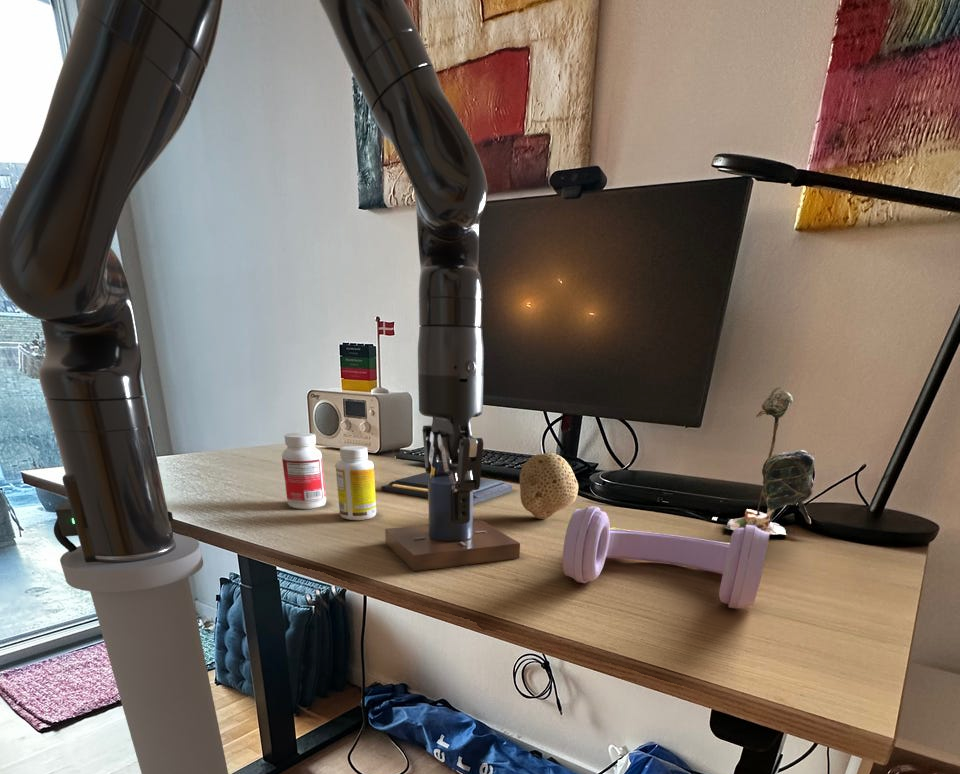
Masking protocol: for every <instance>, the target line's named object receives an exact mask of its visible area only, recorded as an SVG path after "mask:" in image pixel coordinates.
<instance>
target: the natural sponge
mask: <svg viewBox="0 0 960 774" xmlns="http://www.w3.org/2000/svg"><path fill="white" fill-rule="evenodd" d="M519 490H520V491H519V493H520V501H521V504H522V506H523V508H524V509H525V510H526V511H527V512H529V513H530V514H531V515H532V516H534V517H535V518H536V519H539V520H545V519H549V518H551V517H552V516H554V515H555V514H556V513H557V512H559V511H561V510H564V509H565V508H567V507H569V506H570V505H572V504H573V503H574V502H575V501H576V499H577V497H578V492H579V482H578V480H577V478H576V476H575V473H574V471H573V469H572V467H571V465H570V464H569V462H568V461H567V460H566V459H565V458H563V457H562V456H561V455H559V454H558V453H555V452H545V453H537V454H535V455H532V457H530V458H529V459H527V460H526V462H525V463H524V464H523V465H522V467H521V469H520V472H519Z"/></svg>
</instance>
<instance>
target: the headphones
mask: <svg viewBox="0 0 960 774" xmlns="http://www.w3.org/2000/svg"><path fill="white" fill-rule="evenodd" d="M769 540H770V535H769V533H767V532H764V531H762V530H760V529H758V528H757V527H756V526H752V525H746V528H738V529H736V530H733V531H732V533H731V536H730V540H729V542H723V541H716V540H710V539H704V538H696V537H688V536H683V535H682V536H681V535H675V534H668V533H659V532H658V533H657V532H649V531H641V530H640V531H639V530H632V529H631V530H630V529H626V528H619V527H611V525H610V518H609V516H608V514H607V513H606V511H603V510H601V508H600V507H599V506H588V507H586V508H583V509H582V508H581V509H578V508H577V509H576V510H574V511H573V513H572V514H571V517H570V519H569V521H568V524H567V528H566V532H565V536H564V541H563V542H564V543H563V547H562V570H563V573H564V575H565V576H566V577H570V578H571V579H573V580H574V581H575V582H577V583H581V584H587V583H588V582H593V581H595V580H597V578H598V577H599V576H600V574H601V572H602V570H603V568H604V565H605V561H606V559H621V560H623V559H624V560H637V561H647V562H654V563H663V564H670V565H676V566H683V567H687V568H688V567H689V568H694V569H699V570H703V571H708V572H713V573H716V574H721V575H722V576H721V582H720V585H719V591H718V592H719V593H718V597H719V600H720V602H722V603H724V604H727V605H728V608H731V609H740V608H743V607H753V606H755V605H754V604H755V601H756V598H757V594H758V591H759V587H760V583H761V578H762V574H763V571H764V570H763V569H764V565H765V561H766V557H767V556H766V555H767V551H768V545H769Z"/></svg>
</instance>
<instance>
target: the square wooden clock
mask: <svg viewBox="0 0 960 774" xmlns="http://www.w3.org/2000/svg"><path fill="white" fill-rule="evenodd" d="M384 533H385V535H384V536H385V544H386V545H387V546H388V547H389V548H390V549H391V550H392V551H393V552H394V553H395V554H396V555H397V556H398V557H399V558H400V559H401V560H402V561H403V562H404V563H405V564H406V565H407V566H408V567H409V568H410V569H412V570H413V572H418V571H419V572H421V571H429V570H436V569H437V570H438V569H444V568H451V567H452V568H453V567H460V566H468V565H476V564H484V563H491V562H500V561H508V560H515V559H520V557H521V555H520V554H521V542H519V541H517V540H515V539H514V538H512V537H510V536H509V535H507V534H506V533H505V532H502V531H500V530H499V529H497V528H495V527H494V526H492V525H490V524H488V523H487V522H486V521H484V520H482V519H477V520H475V519H474V520H473V531H472V537H471V538H470V539H467V540H463V541H454V542H449V541H439V540H435V539H432V538H431V537H430V536H429V524H423V525H412V526H404V527H403V526H401V527H391V528H385V529H384Z"/></svg>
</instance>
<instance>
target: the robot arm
mask: <svg viewBox="0 0 960 774" xmlns="http://www.w3.org/2000/svg"><path fill="white" fill-rule="evenodd" d="M223 2H224V0H82V2H81V5H80V8H79V11H78V14H77V16H76V20H75V23H74V26H73V30H72V35H71V39H70V42H69V45H68V48H67V51H66V54H65V57H64V60H63V63H62V66H61V69H60V72H59V75H58V78H57V80H56V84H55V86H54V90H53V93H52V96H51V100H50V103H49V106H48V110H47V113H46V117H45V120H44V122H43V123H44V124H43V125H42V129H41V132H40V135H39V136H38V140H37V142H36V145H35V147H34V149H33V151H32V154H31V156H30V157H29V160H28V162H27V164H26V166H25V168H24V170H23V172H22V174H21V176H20V178H19V180H18V183H17V185H16V186H15V188H14V190H13V192H12V194H11V196H10V197H9V200H8V202H7V204H6V205H5V208H4V210H3V212H2V214H1V216H0V287H1V289H2V291H3V292H4V293H5V295H6V296H7V297H8V299H9V300H10V301H11V302H12V303H13V304H14V305H15V306H16V307H17V308H18V309H19V310H21V311H22V312H24V313H25V314H27V315H28V316H30V317H33V318H35V319H37V320H40V323H41V329H42V332H43V338H44V343H45V354H44V358H43V361H42V364H41V365H40V367H39V369H38V379H39V383H40V387H41V391H42V394H43V397H44V400H45V405H46V408H47V411H48V416H49V419H50V422H51V426H52V429H53V430H52V431H53V434H54V437H55V441H56V444H57V447H58V451H59V456H60V459H61V462H62V466H63V470H64V475H63V476H62V484H63V487H64V490H65V491H64V492H65V494H66V497H67V499H63V500H62V501H61V502H60V503H59V505H58V506H57V507H56V509H55V511H54V512H55V514H56V520H55V522H54V526H53V534H54V536H55V539H56V541H57V542H58V543H60V545H62V547H64V549H66V550H67V552H68V551H69V552H73V551H75V550H76V549H77V547H78V546H77V545H75V544H74V543H73V542H72V541H71V540H70V539H69V538H68V537H78V541H79V544H80V545H79V546H81V548H82V552H83V555H84V559H85V562H105V563H126V562H135V561H142V560H147V559H152V558H156V557H159V556H162V555H165V554H167V553H169V552H171V551H173V550H174V549H175V548H176V544H175V539H174V538H173V534H174V533H173V527H172V524H171V523H173V524H174V516H173V512H172V511H169V510H168V505H167V500H166V496H165V491H164V486H163V485H164V484H163V481H162V476H161V472H160V467H159V462H158V457H157V451H156V448H155V443H154V437H153V433H152V428H151V423H150V418H149V414H148V408H147V404H146V399H145V395H144V389H143V383H142V374H143V373H142V372H143V356H142V349H141V344H140V338H139V331H138V327H137V321H136V315H135V310H134V304H133V299H132V294H131V293H132V292H131V289H130V286H129V282H128V278H127V275H126V271H125V270H124V267H123V264H122V262H121V260H120V259H119V257H118V255H117V253H116V252H115V251H114V249H113V248H112V245H113V241H114V239H115V234H116V232H117V229H118V225H119V223H120V219H121V216H122V213H123V211H124V210H125V209H124V208H125V206H126V204H127V202H128V200H129V198H130V196H131V194H132V192H133V191H134V190H135V188H136V186H137V184H138V183H139V182H140V181H141V179H142V178H143V177H144V175H145V174H146V173H147V172H148V170H149V169H150V168H151V167H152V166H153V165H154V164H155V162H156V161H157V160H158V159H159V158H160V157H161V155H163V153H164V152H165V151H166V149H167V148H168V147H169V145H170V144H171V143H172V142H173V140H174V138H175V137H176V136H177V135H178V133H179V132H180V130H181V128H182V126H183V124H184V123H185V121H186V119H187V117H188V115H189V113H190V110H191V108H192V107H193V104H194V101H195V99H196V97H197V94H198V92H199V89H200V86H201V84H202V82H203V79H204V76H205V75H206V70H207V69H208V66H209V63H210V59H211V56H212V54H213V49H214V47H215V43H216V38H217V35H218V31H219V24H220V19H221V14H222V7H223ZM318 2H319V4H320V7H321V9H322V11H323V13H324V15H325V18H326V19H327V22H328V24H329V26H330V28H331V30H332V32H333V35H334V37H335V39H336V42H337V44H338V45H339V48H340V50H341V52H342V55H343V56H344V58H345V61H346V62H347V65H348V67H349V70H350V72H351V73H352V75H353V77H354V79H355V81H356V84H357V86H358V88H359V90H360V92H361V94H362V96H363V99H364V100H365V103H366V105H367V107H368V108H369V111H370V113H371V115H372V116H373V118H374V121H375V122H376V125H377V126H378V128H379V129H380V132H381V133H382V134H383V136H384V137H385V139H386V140H388V142H390V144H392V146H393V147H394V150H395V152H396V154H397V157H398V158H399V161H400V162H401V165H402V167H403V169H404V171H405V173H406V175H407V177H408V180H409V182H410V184H411V187H412V189H413V191H414V194H415V212H416V213H415V214H416V231H417V244H418V258H419V269H420V270H419V282H418V325H419V328H418V330H419V331H418V340H417V383H418V385H417V386H418V387H417V388H418V389H417V390H418V411H419V413H420V415H421V416H424V417H428V418H432V422H431V425H430V424H429V425H422V441H423V453H424V456H423V457H424V467H425V468H424V470H425V472H426V473H427V474H430V478H433V477H439V476H449V478H450V485H451V491H452V493H451V521H452V522H453V523H455V524H463V523H468V522H469V520H470V492H473V490H478V489H479V487H480V478H482V477H481V476H482V466H483V465H482V464H483V454H484V439H483V438H482V437H473V433H472V426H471V419H473V418H478V417H480V416H481V415H482V414H483V412H484V411H483V410H484V363H485V348H484V338H483V300H484V299H483V298H484V295H483V294H484V293H483V291H484V289H483V280H482V275H481V272H480V269H479V259H480V257H479V253H480V226H481V217H482V215H483V214H484V211H485V210H486V206H487V202H488V195H489V189H488V188H489V187H488V181H487V177H486V172H485V169H484V167H483V164H482V161H481V159H480V156H479V154H478V152H477V149H476V147H475V145H474V143H473V141H472V139H471V137H470V135H469V134H468V132H467V130H466V129H465V126H464V125H463V122H462V121H461V120H460V117H459V116H458V114H457V113H456V111H455V108H454V107H453V106H452V104H451V102H450V101H449V99H448V98H447V96H446V94H445V92H444V90H443V87H442V85H441V83H440V80H439V77H438V74H437V72H436V69H435V67H434V64H433V63H432V60H431V58H430V55H429V53H428V51H427V48H426V46H425V44H424V42H423V39H422V36H421V35H420V32H419V30H418V28H417V26H416V23H415V21H414V18H413V17H412V14H411V11H410V10H409V8H408V6H407V4H406V2H405V0H318ZM456 475H457V476H456ZM472 477H473V478H472Z"/></svg>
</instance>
